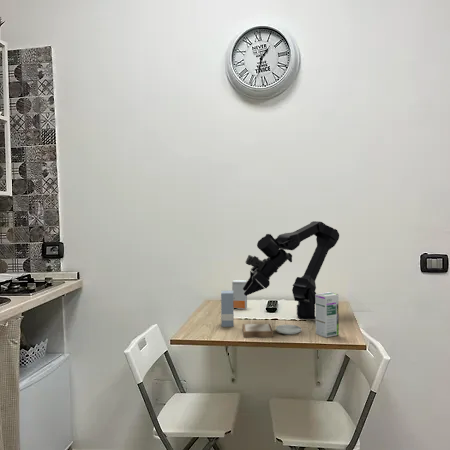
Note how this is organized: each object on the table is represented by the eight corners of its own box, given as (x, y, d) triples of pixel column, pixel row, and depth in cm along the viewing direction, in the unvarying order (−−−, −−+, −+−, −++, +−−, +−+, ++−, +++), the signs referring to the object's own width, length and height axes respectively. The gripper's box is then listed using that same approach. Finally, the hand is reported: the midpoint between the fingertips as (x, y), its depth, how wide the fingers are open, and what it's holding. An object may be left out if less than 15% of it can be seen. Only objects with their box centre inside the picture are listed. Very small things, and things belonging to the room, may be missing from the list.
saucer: (299, 328, 175) (299, 324, 175) (303, 336, 166) (303, 331, 166) (274, 329, 175) (274, 324, 175) (277, 336, 166) (277, 331, 166)
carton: (233, 322, 184) (233, 290, 183) (233, 326, 179) (233, 293, 178) (221, 323, 184) (221, 290, 183) (221, 326, 179) (221, 293, 178)
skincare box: (232, 309, 206) (231, 281, 205) (233, 307, 210) (233, 279, 209) (246, 309, 205) (246, 281, 204) (247, 307, 209) (247, 280, 208)
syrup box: (325, 338, 163) (326, 295, 163) (315, 333, 169) (315, 292, 168) (339, 335, 166) (339, 294, 165) (327, 331, 171) (328, 291, 170)
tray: (270, 328, 175) (270, 323, 175) (272, 336, 165) (272, 331, 165) (242, 329, 175) (242, 323, 175) (243, 337, 165) (243, 331, 165)
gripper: (256, 245, 189) (228, 273, 189) (260, 250, 170) (229, 281, 171) (276, 264, 189) (248, 292, 190) (282, 272, 171) (251, 303, 171)
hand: (244, 292), depth 180 cm, fingers open, 9 cm apart
